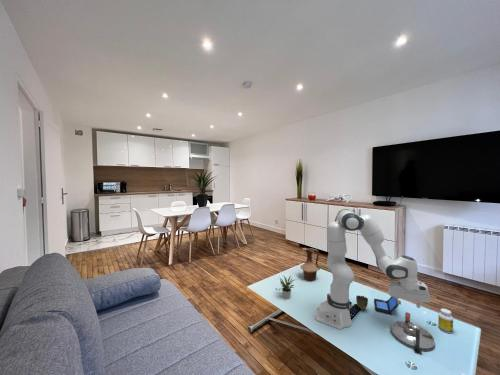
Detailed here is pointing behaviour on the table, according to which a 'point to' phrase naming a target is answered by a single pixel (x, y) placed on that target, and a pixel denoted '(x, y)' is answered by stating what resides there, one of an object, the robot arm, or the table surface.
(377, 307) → the handheld game console
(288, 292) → the house plant
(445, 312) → the pill bottle
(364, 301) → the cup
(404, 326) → the cover
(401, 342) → the turntable base
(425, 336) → the turntable
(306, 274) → the pitcher
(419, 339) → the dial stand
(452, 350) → the table surface
